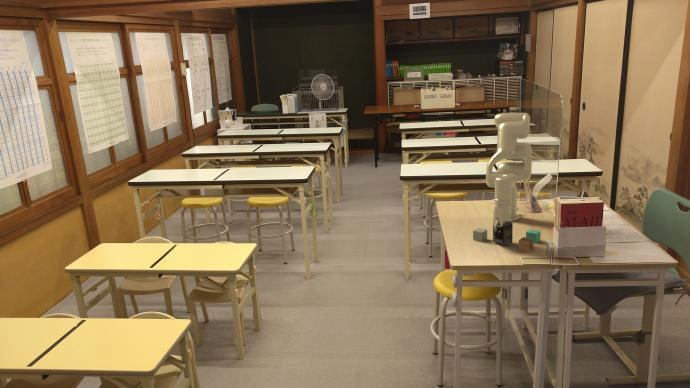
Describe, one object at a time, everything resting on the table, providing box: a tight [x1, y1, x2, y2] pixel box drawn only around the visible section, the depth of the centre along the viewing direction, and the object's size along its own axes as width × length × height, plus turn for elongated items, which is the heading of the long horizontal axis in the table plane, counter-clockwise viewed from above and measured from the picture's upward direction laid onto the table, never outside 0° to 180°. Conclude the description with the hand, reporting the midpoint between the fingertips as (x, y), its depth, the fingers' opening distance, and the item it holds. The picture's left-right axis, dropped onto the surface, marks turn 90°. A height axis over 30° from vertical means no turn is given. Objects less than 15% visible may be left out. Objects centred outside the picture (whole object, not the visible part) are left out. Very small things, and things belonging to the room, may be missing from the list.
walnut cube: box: [518, 236, 535, 253], centre depth 249 cm, size 5×5×5 cm
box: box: [492, 221, 514, 246], centre depth 257 cm, size 8×6×11 cm
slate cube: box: [472, 227, 488, 243], centre depth 265 cm, size 5×5×5 cm
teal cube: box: [525, 228, 541, 244], centre depth 259 cm, size 5×5×5 cm
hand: (502, 236), depth 257 cm, fingers closed on box, 7 cm apart
